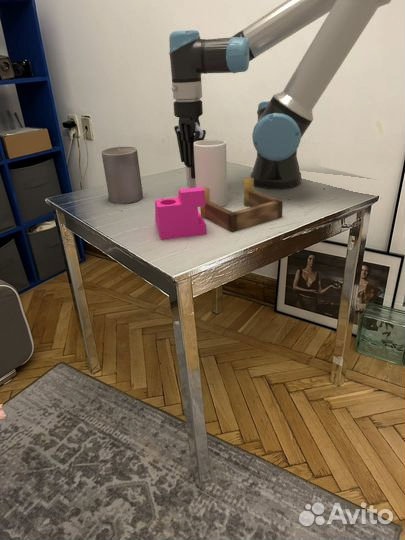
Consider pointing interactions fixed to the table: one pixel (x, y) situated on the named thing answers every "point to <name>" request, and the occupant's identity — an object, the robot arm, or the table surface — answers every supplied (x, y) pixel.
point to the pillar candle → (122, 174)
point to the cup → (211, 168)
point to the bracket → (181, 214)
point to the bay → (258, 212)
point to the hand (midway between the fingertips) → (192, 188)
